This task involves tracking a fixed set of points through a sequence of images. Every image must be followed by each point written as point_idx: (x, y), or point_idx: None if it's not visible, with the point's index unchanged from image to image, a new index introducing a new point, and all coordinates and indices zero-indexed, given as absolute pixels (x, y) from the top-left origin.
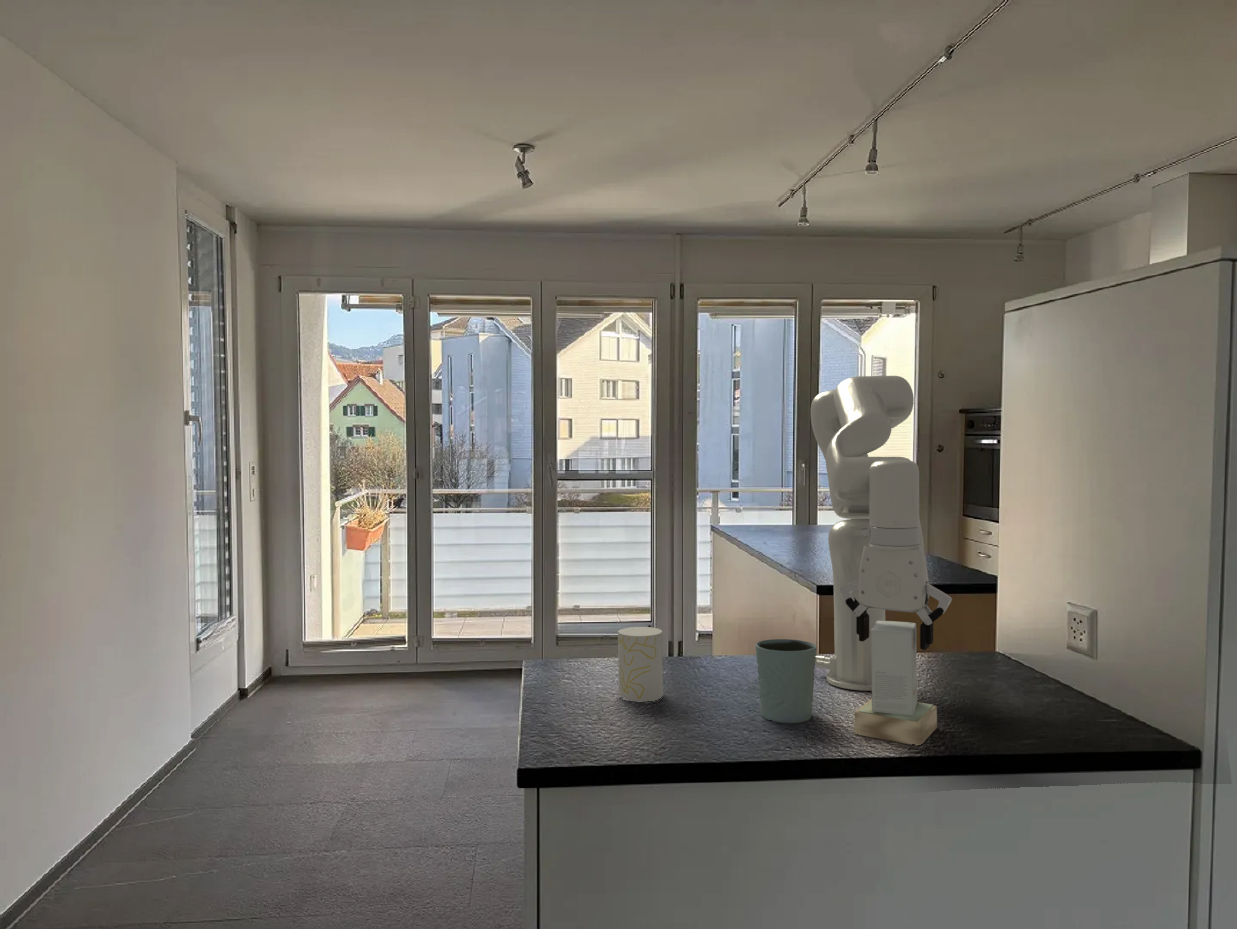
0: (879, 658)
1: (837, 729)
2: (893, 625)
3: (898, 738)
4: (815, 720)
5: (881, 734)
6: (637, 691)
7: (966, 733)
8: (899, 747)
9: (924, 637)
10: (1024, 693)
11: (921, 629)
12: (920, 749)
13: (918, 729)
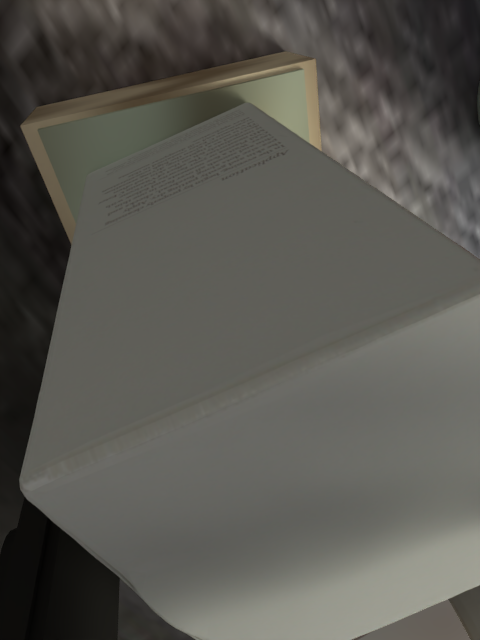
0: (287, 191)
1: (359, 58)
2: (344, 555)
3: (118, 90)
4: (456, 97)
5: (186, 76)
6: None
7: (31, 335)
8: (79, 28)
9: (14, 545)
10: (130, 603)
11: (27, 617)
12: (10, 71)
13: (32, 118)
